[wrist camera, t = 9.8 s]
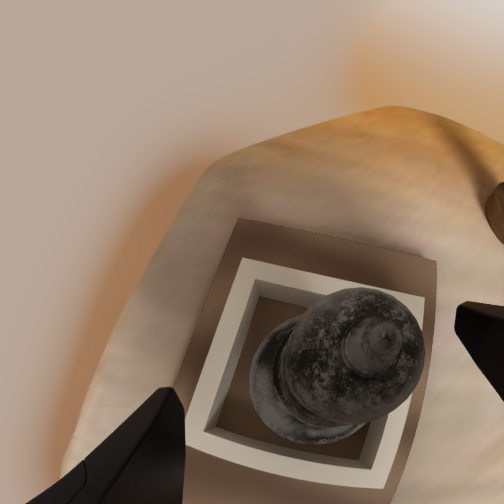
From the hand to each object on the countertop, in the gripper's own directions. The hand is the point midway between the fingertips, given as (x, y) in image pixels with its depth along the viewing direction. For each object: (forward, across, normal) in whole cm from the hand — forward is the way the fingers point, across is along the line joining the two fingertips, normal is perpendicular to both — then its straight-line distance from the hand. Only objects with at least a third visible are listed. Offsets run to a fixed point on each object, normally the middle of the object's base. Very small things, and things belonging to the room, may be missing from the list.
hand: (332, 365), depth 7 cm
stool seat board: (+6, 0, +7) cm, 9 cm away
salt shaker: (+6, 0, +6) cm, 8 cm away
